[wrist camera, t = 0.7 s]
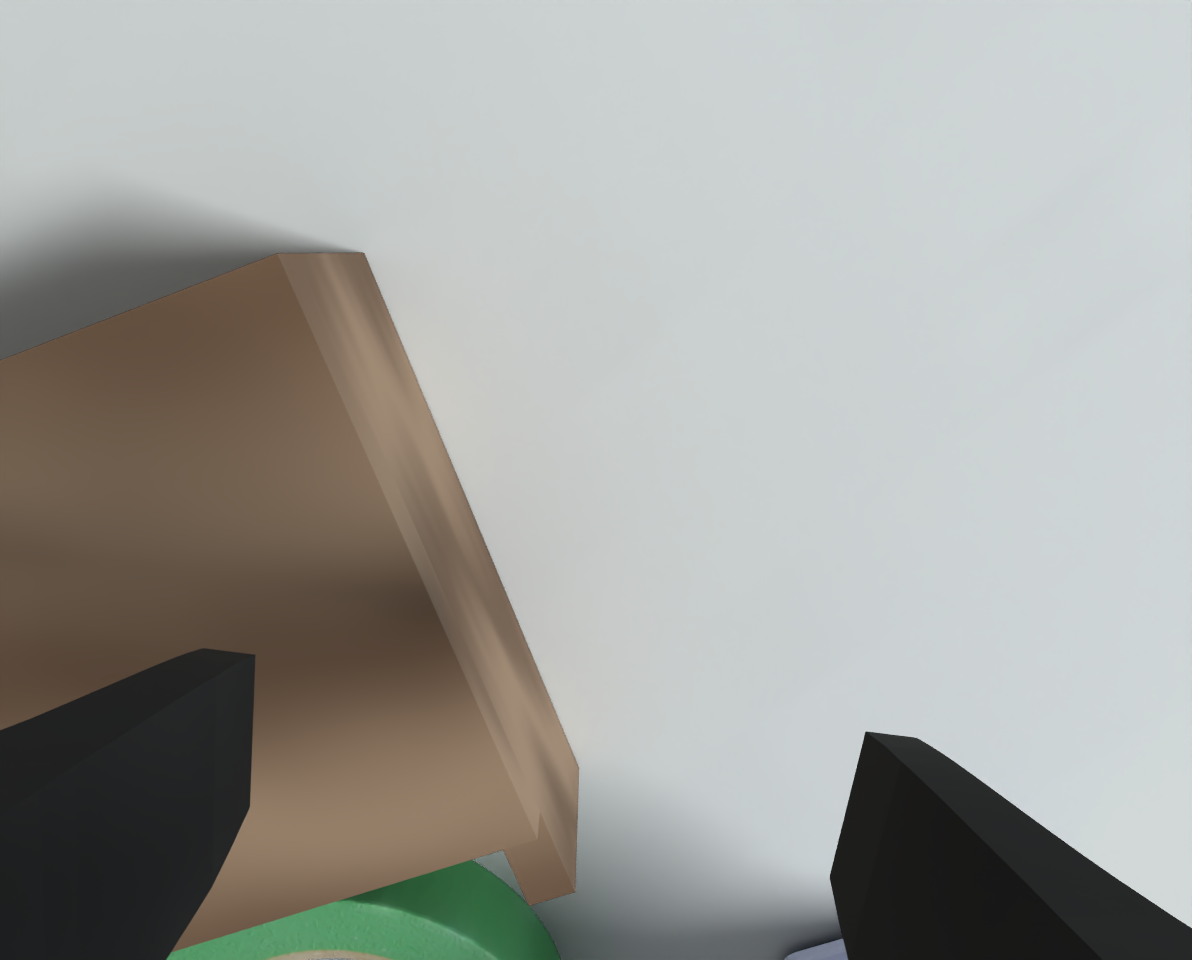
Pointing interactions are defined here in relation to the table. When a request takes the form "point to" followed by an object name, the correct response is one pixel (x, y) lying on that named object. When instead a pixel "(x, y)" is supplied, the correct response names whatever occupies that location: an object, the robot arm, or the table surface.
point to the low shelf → (282, 581)
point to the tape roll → (400, 925)
